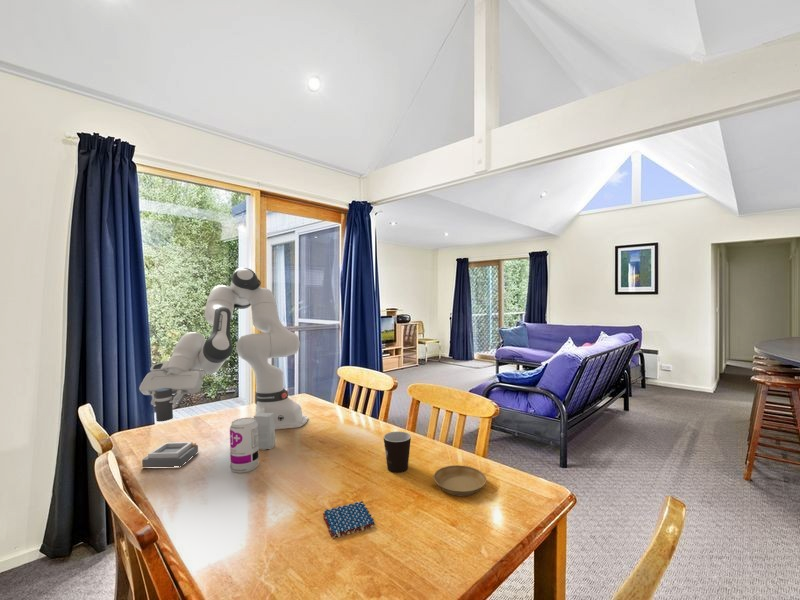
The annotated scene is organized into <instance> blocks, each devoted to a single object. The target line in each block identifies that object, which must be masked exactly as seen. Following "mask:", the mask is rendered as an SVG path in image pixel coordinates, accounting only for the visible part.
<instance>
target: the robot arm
mask: <svg viewBox="0 0 800 600" xmlns="http://www.w3.org/2000/svg"><path fill="white" fill-rule="evenodd" d="M261 284H262V281H261V280H260V279H259V278H258V275H257V274H256V273H255V272H254V271H253V270H252V269H251V268H247V267H239V268H236V270H234V272H233V274H232V275H231V280H230V285H222V284H221V285H220V284H219V285H217V286H214V287H213V288H212V289H211V291H210V292H209V295H208V297H207V300H206V303H205V309H204V318H205V321H206V322H207V323H209V324H210V325H212V328H211V334H210V335H209V336H208V338H207V339H206V338H205V336H204V334H201V332H200V333H199V332H194V331H190V332H187V333H185V334H183V335H182V336H180V338H179V340H178V341H177V343H176V345H175V346H174V349H173V351H172V353H173V354H172V355H171V356H170V357H169V359H168V360H165V361H163V362H160V363H156V364H153V365H152V366H150V369H149V370H150V372H148V373H147V374H145V377H143V380H142V382H141V383H140V385H139V388H138V389H139V392H141V394H143V395H144V396H151V401H150V405H152V406H156V401H155V391H156V390H158V389H163V388H170V389H172V395H174V397H172V398H171V399H170V402H169V403H170V404H171V405H172V406H174V405H177V403H178V401H179V400H180V399H181V398H183V396H184V395H186V394H198V393H199V392H200V391H201V388H202V385H203V382H204V381H203V380H204V378H205V375H212V374H213V375H214V374H215V373H217V372H218V371H219V370H220V369H221V368H222V366H223V365H224V364H225V362H226V361H227V359H228V358H229V357H230V356H231V355H232V353H233V350H234V347H233V346H234V345H233V342H232V340H231V335H230V334H231V333H230V331H231V323H232V322H231V321H232V318H233V313H234V309H238V310H240V309H241V310H243V309H248V308H250V307H251V319H252V325H253V326H254V328H255V329H256V330H257V331H259V332H257V333H250V334H249V333H248V334H245V335H242V336H241V337H240V338H238V340H237V342H236V346H235V349H236V353H237V355H238V356H239V357H240V359H241V360H244V361H245V362H246V363H247V364H249V365H250V367H251V369H252V370H253V372H254V376H255V387H256V388H255V389H256V391H255V392H254V403H255V413H254V416H255V415H257V414H258V413H274V428H275V431H276V430H285V429H296V428H300V427H302V426H304V425H305V424H306V423H307V422H308V415H307V414H303V411H302V407H301V405H300V404H299V403H297V402H296V401H294V400H293V399H292V398H290V397H289V391H290V390H289V389H287V390H286V389H285V388H284V372H283V370H282V369H281V368H279V367H278V366H276V365H274V364H273V365H272V364H270V363H269V361H268V360H269V359H274V358H276V359H277V358H285V357H289V356H293V355H296V354H297V353H298V351H299V350H300V346H301V342H300V338H299V336H298V335H297V334H296V333H295V332H293V331H291V330H289V329H287V328H286V326H285V325H283V324H282V321H281V320H280V317H279V312H278V308H277V307H278V305H277V302H276V299H275V295H274V294H273V291H271V290H270V289H268V288H265V287H261Z"/></svg>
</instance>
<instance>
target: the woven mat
mask: <svg viewBox="0 0 800 600" xmlns="http://www.w3.org/2000/svg"><path fill="white" fill-rule="evenodd" d="M322 515H323V520H324V522H325V524H326V526H327V529H328V533H329V535H330V537H332V536H333V537H334V538H335V539H336V537H337V536H338V537H337V538H341V536H342V537H346V536H347V535H348V536H349V535H350V534H354V533H355V531H356V532H357V533H359V532H360V531H361V532H363V531H365V530H366V531H368V530H369V528H370V529H374V525H376V524H375V521H374V517H372V514H371V513H370V511H369V510H368V507H366V503H365V504H364V500H361V501H358V502H357V501H355V503H349V504H344V505H343V506H340V505H339V506H337V507H336V508H334V507H332V508H330V509H325V510H324V512H322ZM333 537H332V538H333Z"/></svg>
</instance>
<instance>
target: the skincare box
mask: <svg viewBox="0 0 800 600" xmlns="http://www.w3.org/2000/svg"><path fill="white" fill-rule="evenodd" d="M253 418H255V419H256V422H257V424H258V450H266V449H270V450H272V449H273V447H275V446H274V445H276V438H275V437H276V436H275V435H276V433H275V431H276V430H275V428H274V413H258V414H257V415H255V414H254V415H253Z"/></svg>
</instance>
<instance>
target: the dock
mask: <svg viewBox="0 0 800 600" xmlns="http://www.w3.org/2000/svg"><path fill="white" fill-rule="evenodd" d="M197 452H198V453H199V445H198V444H197V442H193V441H178V442H176V441H175V442H173V441H171V442H164V443H163V444H161V445H159V446H158V447H157V448H155V449H154V450H152V451H150V452H149V453H148V454H147V456H145V457H144V458H143V459H142V460H141V461H142V462H141V463H142V464H141V465H142V467H174V466H179V467H180V466H182V465H183V464H184V463H185V462H187V461H188V460H189V459H190V458H191V457H192V456H194V455H195V454H196V453H197ZM195 456H196V455H195ZM195 456H194V457H195ZM189 461H190V460H189ZM189 461H188V462H189ZM188 462H187V463H188ZM183 466H184V465H183ZM183 466H182V467H183Z"/></svg>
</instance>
